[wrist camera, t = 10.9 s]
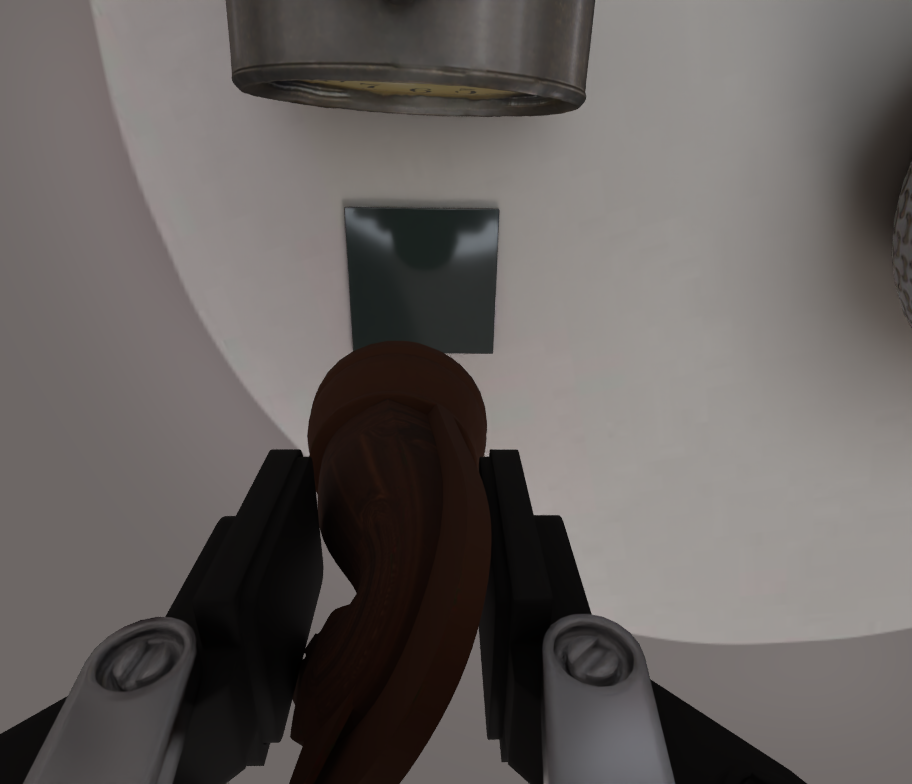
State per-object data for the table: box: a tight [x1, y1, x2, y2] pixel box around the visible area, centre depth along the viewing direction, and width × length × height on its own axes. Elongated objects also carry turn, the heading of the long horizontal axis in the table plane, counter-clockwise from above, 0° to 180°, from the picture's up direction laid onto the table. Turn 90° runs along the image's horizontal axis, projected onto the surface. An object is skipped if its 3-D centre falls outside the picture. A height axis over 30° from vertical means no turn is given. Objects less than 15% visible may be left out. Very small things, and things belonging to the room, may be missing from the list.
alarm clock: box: [226, 0, 595, 117], centre depth 17 cm, size 11×5×16 cm, turn 87°
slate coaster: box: [344, 207, 499, 354], centre depth 28 cm, size 7×7×1 cm
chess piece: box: [289, 341, 491, 784], centre depth 11 cm, size 5×5×10 cm
